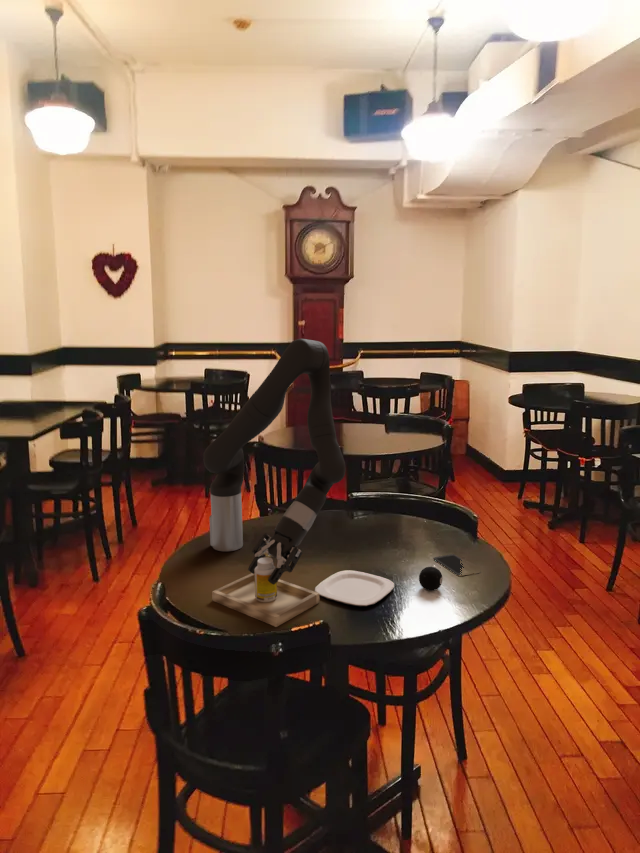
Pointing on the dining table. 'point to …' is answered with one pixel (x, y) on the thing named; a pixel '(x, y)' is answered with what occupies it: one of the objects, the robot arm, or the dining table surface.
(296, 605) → the serving tray
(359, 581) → the plate
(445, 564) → the cell phone
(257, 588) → the supplement bottle
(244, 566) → the dining table surface
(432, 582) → the billiard ball
